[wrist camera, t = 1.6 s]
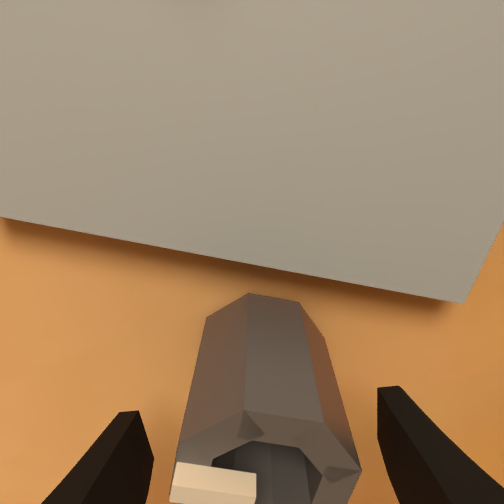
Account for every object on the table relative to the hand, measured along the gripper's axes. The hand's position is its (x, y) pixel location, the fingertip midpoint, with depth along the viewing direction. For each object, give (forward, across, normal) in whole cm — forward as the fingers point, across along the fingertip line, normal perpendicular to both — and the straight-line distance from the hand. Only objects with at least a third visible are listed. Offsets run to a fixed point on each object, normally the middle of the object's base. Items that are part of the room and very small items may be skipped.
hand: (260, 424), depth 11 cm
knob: (+4, 0, 0) cm, 4 cm away
